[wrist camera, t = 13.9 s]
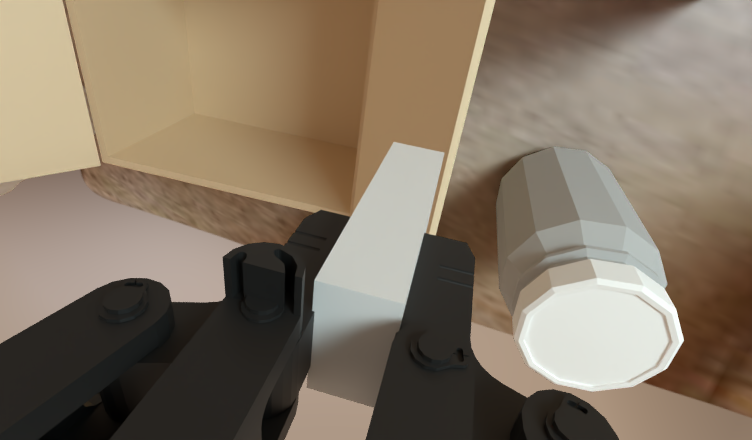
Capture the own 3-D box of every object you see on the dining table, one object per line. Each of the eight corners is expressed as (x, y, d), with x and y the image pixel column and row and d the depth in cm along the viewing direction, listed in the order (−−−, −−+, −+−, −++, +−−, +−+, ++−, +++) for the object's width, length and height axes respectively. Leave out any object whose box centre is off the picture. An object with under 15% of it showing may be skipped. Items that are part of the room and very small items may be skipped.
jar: (528, 124, 36) (558, 239, 21) (638, 167, 35) (750, 316, 20) (477, 216, 41) (472, 362, 26) (573, 254, 41) (623, 423, 26)
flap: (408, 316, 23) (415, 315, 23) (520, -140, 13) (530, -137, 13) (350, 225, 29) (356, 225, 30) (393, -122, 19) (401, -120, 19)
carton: (430, -90, 30) (401, -119, 20) (389, 158, 40) (356, 222, 30) (170, -128, 32) (25, -172, 22) (194, 115, 42) (102, 162, 32)
